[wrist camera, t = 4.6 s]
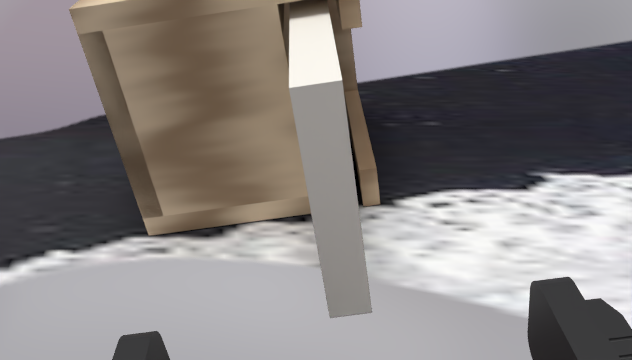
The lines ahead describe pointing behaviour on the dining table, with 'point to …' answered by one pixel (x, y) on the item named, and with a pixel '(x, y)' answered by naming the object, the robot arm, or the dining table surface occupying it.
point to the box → (211, 106)
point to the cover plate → (327, 157)
